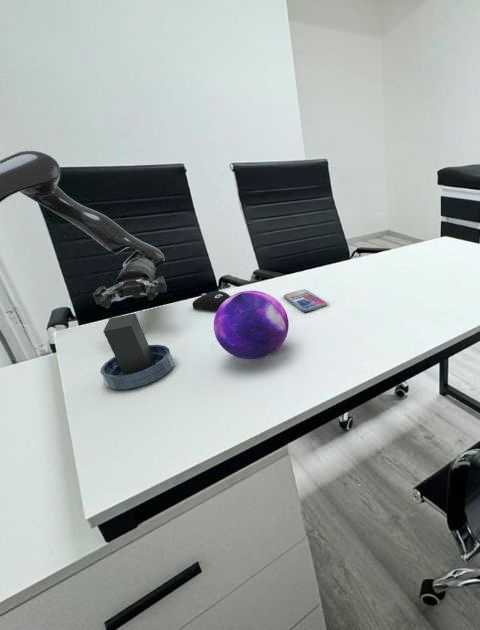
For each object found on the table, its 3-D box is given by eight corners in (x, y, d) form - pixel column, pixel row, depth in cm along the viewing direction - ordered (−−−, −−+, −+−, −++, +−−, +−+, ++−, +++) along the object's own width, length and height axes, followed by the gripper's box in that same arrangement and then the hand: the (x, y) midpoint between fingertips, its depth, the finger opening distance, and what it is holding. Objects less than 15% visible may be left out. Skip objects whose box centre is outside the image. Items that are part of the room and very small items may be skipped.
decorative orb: (242, 338, 95) (225, 281, 88) (302, 336, 94) (290, 279, 87) (211, 374, 81) (189, 310, 75) (281, 372, 81) (265, 307, 74)
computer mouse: (221, 314, 107) (217, 301, 106) (190, 309, 111) (185, 296, 110) (241, 303, 114) (238, 291, 112) (210, 299, 118) (206, 287, 116)
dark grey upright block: (127, 382, 79) (103, 331, 74) (131, 367, 84) (109, 318, 79) (152, 375, 81) (131, 325, 75) (155, 361, 86) (135, 312, 81)
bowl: (97, 397, 76) (89, 382, 74) (120, 364, 86) (114, 351, 85) (166, 383, 79) (160, 369, 77) (180, 353, 89) (175, 340, 88)
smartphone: (304, 288, 120) (328, 302, 109) (305, 291, 120) (328, 305, 110) (281, 294, 115) (303, 310, 105) (282, 297, 116) (304, 313, 105)
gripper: (98, 270, 97) (82, 291, 84) (163, 260, 103) (157, 278, 90) (110, 297, 100) (96, 322, 87) (172, 286, 106) (168, 307, 93)
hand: (127, 300), depth 88 cm, fingers open, 8 cm apart
